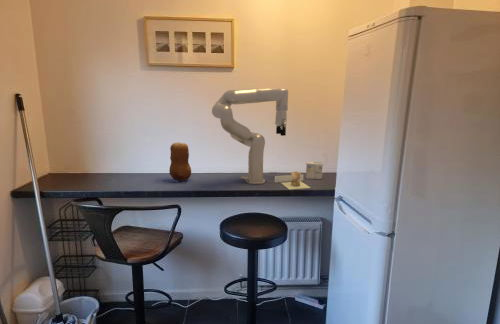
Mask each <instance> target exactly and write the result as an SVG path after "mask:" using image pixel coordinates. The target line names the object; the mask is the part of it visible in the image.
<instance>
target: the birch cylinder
mask: <svg viewBox="0 0 500 324" xmlns="http://www.w3.org/2000/svg"><path fill="white" fill-rule="evenodd" d="M291 175H292V176H291V181H290V182H291V185H292V186H300V182H301V181H300V175H302V174H301V171H292V172H291Z"/></svg>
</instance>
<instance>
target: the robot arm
mask: <svg viewBox="0 0 500 324" xmlns="http://www.w3.org/2000/svg"><path fill="white" fill-rule="evenodd" d="M288 100H289V90H288V89H287V88H279V87H275V88H274V87H272V88H271V87H270V88H244V89H243V88H242V89H228V90H226V91H225V92H224V93H223V94H222V95H221V97H220V98H219V99H218V100H217V101H216V102H215V103H214V104H213V107H212V109H211V114H212V116H213V117H214V118H217V119H219V121H220V125H221V127H222V129H223V130H224V131H225V132H226V133H228V134H230V135H229V136H230V137H231V139H234V140H235V141H237V142H239V143H240V144H242V145H244V146H247V147H249V150H248V155H247V156H248V159H247V160H248V169H247V171H248V172H247V174H246V175H243V176H240V179H241V180H244V181H245V182H246V183H247V184H250V185H262V184H265V183H266V179H264V151H265V147H266V145H265V144H266V139H265V137H264V135H263V134H261V133H257V132H253V131H251V129H250V128H249V127H247V126H245V125H244V124H242V123H240V122H238V121H237V120H236V119H235V118H234V115H233V109H232V107H231V106H233V105H244V104H256V103H257V104H258V103H264V102H265V103H266V102H268V103H269V102H275V111H276V112H275V122H274V124H275V127H276V128H275V129H276V130H275V133H276V134H277V135H280V136H282V137H284V136H285V137H286V134H287V131H286V130H287V118H288V117H287V111H288V105H289V101H288Z"/></svg>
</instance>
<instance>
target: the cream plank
mask: <svg viewBox="0 0 500 324" xmlns="http://www.w3.org/2000/svg"><path fill="white" fill-rule="evenodd" d="M291 176H292V174H289V175H275V176H274V183H285V182H291ZM303 181H304V174H301V175H300V182H303Z"/></svg>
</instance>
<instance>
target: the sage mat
mask: <svg viewBox="0 0 500 324" xmlns="http://www.w3.org/2000/svg"><path fill="white" fill-rule="evenodd" d="M280 184H281V185H282V186H284V188H286V189H288V190H289V191H290V190H291V191H292V190H305V189H311V187H310V186H309V185H307V184H306V183H304V182H303V181H300V186H292V185H291V181H288V182H280Z"/></svg>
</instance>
